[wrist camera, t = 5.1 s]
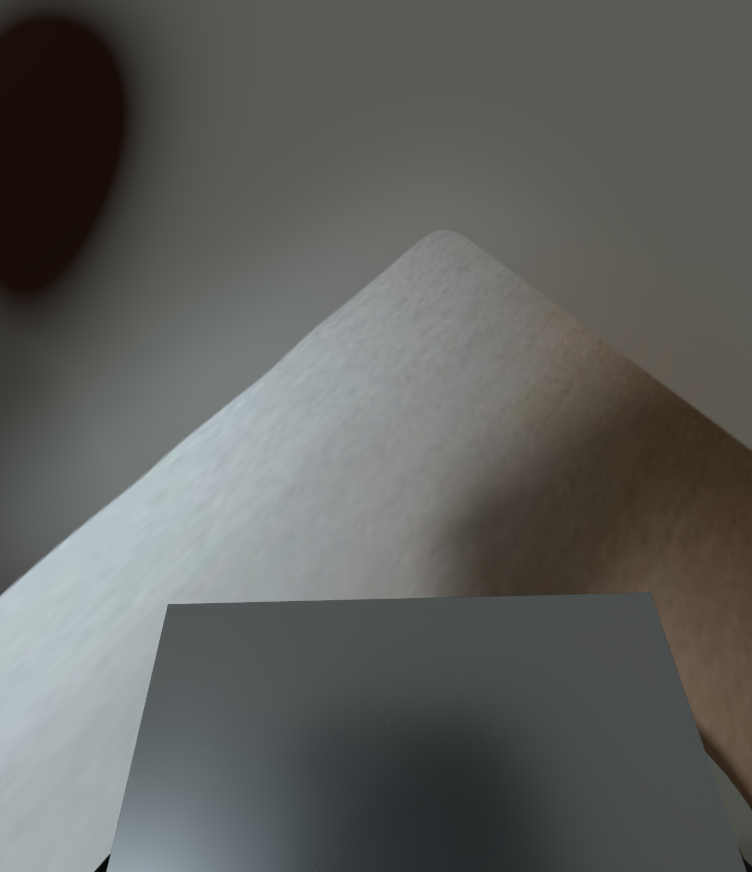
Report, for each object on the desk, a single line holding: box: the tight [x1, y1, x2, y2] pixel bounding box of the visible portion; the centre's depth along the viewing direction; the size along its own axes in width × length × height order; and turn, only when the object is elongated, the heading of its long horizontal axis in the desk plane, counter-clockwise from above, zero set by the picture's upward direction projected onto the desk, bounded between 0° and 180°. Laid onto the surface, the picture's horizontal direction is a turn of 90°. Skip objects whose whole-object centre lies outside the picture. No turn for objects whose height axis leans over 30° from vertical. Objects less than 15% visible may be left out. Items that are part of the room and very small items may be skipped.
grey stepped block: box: [107, 593, 746, 872], centre depth 8 cm, size 6×6×12 cm
